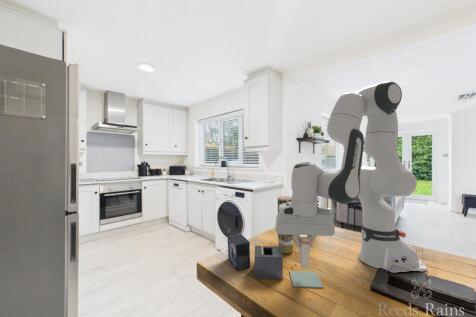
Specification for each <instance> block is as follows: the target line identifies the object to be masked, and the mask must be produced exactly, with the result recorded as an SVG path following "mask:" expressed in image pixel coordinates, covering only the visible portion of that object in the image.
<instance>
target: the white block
mask: <svg viewBox="0 0 476 317" xmlns="http://www.w3.org/2000/svg"><path fill="white" fill-rule="evenodd" d="M298 240H300V242H301V247H298V255H299V256H298V262H299V265H300V267H301V269H304V270H305V269H306V270H309V269H310V247H309V245H310V241H309V240H310V238H309V236H308V235H298Z"/></svg>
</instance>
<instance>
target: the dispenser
mask: <svg viewBox="0 0 476 317" xmlns="http://www.w3.org/2000/svg"><path fill="white" fill-rule="evenodd" d="M283 260H284V259H283V253H281V249H280V246H276V245H272V246H271V245H254V278H255V279H263V280H264V279H265V280H284V275H283V274H284V273H283V270H284V269H283V262H284V261H283Z"/></svg>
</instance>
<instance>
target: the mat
mask: <svg viewBox="0 0 476 317" xmlns="http://www.w3.org/2000/svg"><path fill="white" fill-rule="evenodd" d="M288 272H289V273H288V274H289V275H290V280H291V284H292V287H293V288H311V289H312V288H315V289H324V285H323V282H322V281H321V279H320V277H319V275H318V272H317V271H305V270H304V271H302V270H299V271H298V270H297V271H296V270H289V271H288Z"/></svg>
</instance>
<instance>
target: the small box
mask: <svg viewBox="0 0 476 317" xmlns="http://www.w3.org/2000/svg"><path fill="white" fill-rule="evenodd" d="M250 244H251V242H250V241H249V240H248V239H247V238H246V237H245V236H244V235H243V234H242V233H241V232H239V233H234V234H229V235H227V257H228V258H227V259H228V261H229V262H230V263H231V265H232V266H233V267H234V269H235V270H236V271H237V272H238V271H241V270H247V269H249V268H251V249H250V248H251V247H250V246H251V245H250Z"/></svg>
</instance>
